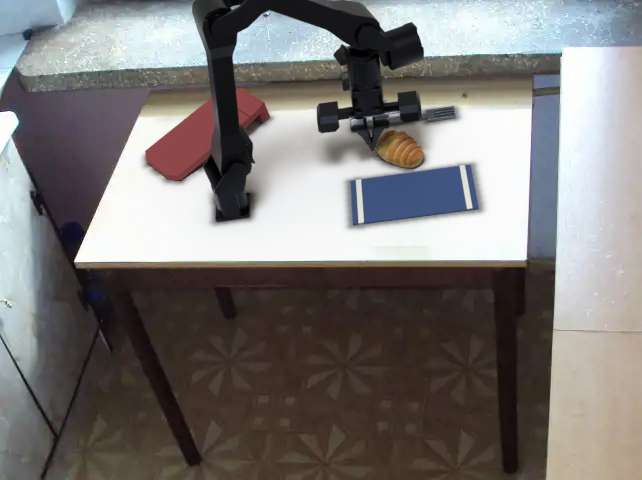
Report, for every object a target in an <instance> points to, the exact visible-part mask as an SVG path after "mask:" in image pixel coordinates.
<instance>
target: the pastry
mask: <svg viewBox="0 0 642 480" xmlns="http://www.w3.org/2000/svg"><path fill="white" fill-rule="evenodd" d="M375 151H376V152H377V154H378V155H379V157H380V158H381V159H382V160H384V162H387V163H389V164H392V165H394V166H398V167H401V168H411V169H413V168H415V167H417V166H418V165H420V164H421V163H422V162H423V159H424V157H425V152H424V151H423V149H422V147H421V145H419V143H418V141H417V140H416V139H415V138H414V137H412V136H411V134H408V133H407V132H405V131H403V130H399V131H398V130H396V129H389V130H387V131H385V132H384V133H382V135H381V136H380V138H379V140H378V143H377V146H376V149H375Z"/></svg>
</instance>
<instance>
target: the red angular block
mask: <svg viewBox="0 0 642 480" xmlns="http://www.w3.org/2000/svg"><path fill="white" fill-rule="evenodd" d="M236 96H237V105H238V115H239V125H240V127H241V126H243V127H244V128H245V129H246V128H247V127H248V126H249V125H251V124H252V123H253V122H254V121H255V120H256V119H257V120H258V121H260V122H261V123H264V122H266V121H267V120H268V119H270V118H271V115H270V112H269V110H268V108H267V105H266V103H265V101H263V100H262V99H260V98H259V97H257V96H256V95H254V94H252V93H251V92H248V91H247V90H246V89H244V88H242V87H239V88H236ZM214 129H215V120H214V112H213V104H212V97H211V98H209V99H208V100H206V101H205V102H203V104H201V105H200V106H199V107H198V108H196V110H194V111H193V112H192V113H190V114H189V115H188V116H186V117H185V118H184V119H183V120H182V121H181V122H179V123H178V124H177V125H176V126H174V127H173V128H172V129H170V130H169V131H168V132H167V133H165V134H164V135H163V136H162V137H160V139H158V140H156V141H155V142H154V143H153V144H152V145H151V146H149V147H148V148H147V149H145V151H144V154H145V161H146V162H147V164H148V165H149V166H150V167H151V168H153V169H154V170H155V171H157V172H158V173H159V174H161V176H163V177H165V179H167V180H169V181H182V180H183V179H184V178H186V177H187V176H188V175H190V174H191V173H193V171H194V170H196V169H197V168H198V167H199V166H201V165H202V164H204V163H205V161H206V160H207V158H208V157H209V155H210V153H211V139H212V134H213V131H214Z"/></svg>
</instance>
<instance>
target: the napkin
mask: <svg viewBox="0 0 642 480" xmlns="http://www.w3.org/2000/svg"><path fill="white" fill-rule="evenodd" d="M473 175H474V174H473V171H472V166H471V164H461V165H455V166H447V167H441V168H440V167H439V168H433V169H426V170H419V171H412V172H411V171H409V172H404V173H396V174H390V175H389V174H388V175H383V176H381V175H380V176H375V177H367V178H359V179H353V180H350V197H351V216H352V226H358V225H365V224H366V225H367V224H373V223H374V224H375V223H381V222H382V223H383V222H390V221H398V220H406V219H412V218H420V217H427V216H428V217H429V216H434V215H443V214H452V213H458V212H466V211H473V210H479V208H480V207H479V202H478V198H477V193H476V192H477V191H476V188H475V187H476V186H475V181H474V176H473Z"/></svg>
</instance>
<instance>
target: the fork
mask: <svg viewBox="0 0 642 480" xmlns="http://www.w3.org/2000/svg"><path fill="white" fill-rule="evenodd" d="M456 117H457V116H456V111H455V106H454V105H451V106H444V107H443V106H442V107H436V108H431V109H426V110H425V113H422V119H421V120H426V121H427V123H430V122H431V123H432V122H439V121H444V120H445V121H446V120H452V119H456ZM367 121H368V125H369V129H372V119H370V120H367ZM389 122H390V126H392V125H399V124H405V123H408V122H403V121H402V120H400V115H399V116H393V117H389Z"/></svg>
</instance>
